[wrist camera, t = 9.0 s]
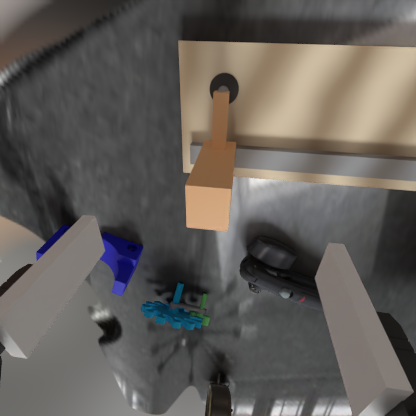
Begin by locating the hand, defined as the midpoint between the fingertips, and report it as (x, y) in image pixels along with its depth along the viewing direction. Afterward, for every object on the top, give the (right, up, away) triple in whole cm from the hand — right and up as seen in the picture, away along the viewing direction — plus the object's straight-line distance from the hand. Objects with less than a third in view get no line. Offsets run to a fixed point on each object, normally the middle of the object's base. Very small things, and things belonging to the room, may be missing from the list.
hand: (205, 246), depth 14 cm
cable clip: (-16, -3, +23) cm, 28 cm away
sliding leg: (+1, +10, +9) cm, 13 cm away
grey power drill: (+3, -40, +45) cm, 60 cm away
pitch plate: (+12, +11, +9) cm, 18 cm away
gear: (-4, -13, +28) cm, 31 cm away
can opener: (+13, -7, +22) cm, 26 cm away
